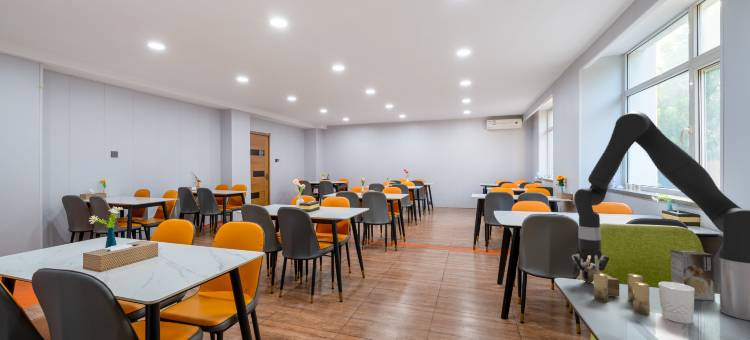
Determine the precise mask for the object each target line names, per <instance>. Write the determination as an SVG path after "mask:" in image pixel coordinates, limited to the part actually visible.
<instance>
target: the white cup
mask: <svg viewBox="0 0 750 340" xmlns="http://www.w3.org/2000/svg"><path fill="white" fill-rule="evenodd" d="M694 291H695V289H694V288H693V287H690V286H688V285H684V284H680V283H674V282H672V281H660V282H658V293H659V301H660V302H659V303H660V307H661V316H662V317H663V318H664V319H666V320H669V321H671V322H674V323H679V324H685V325H686V324H692V323H694V312H695V311H694V310H695V309H694V307H695V299H694Z"/></svg>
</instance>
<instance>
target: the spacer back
mask: <svg viewBox="0 0 750 340" xmlns="http://www.w3.org/2000/svg"><path fill="white" fill-rule="evenodd" d="M650 307H651V305H650V285H649V284H648V283H645V282H643V283H641V282H633V303H632V309H633V312H634V313H636V314H639V315H643V316H650V315H651V311H650V310H651V309H650ZM649 314H650V315H649Z"/></svg>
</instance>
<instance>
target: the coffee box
mask: <svg viewBox="0 0 750 340" xmlns="http://www.w3.org/2000/svg"><path fill="white" fill-rule="evenodd" d="M670 266H671V282H674V283H680V284H684V285H688V286H690V287H693V288H694V289H695V291H694V300H699V301H700V300H701V301H716V293H715V274H714V272H715V271H714V269H715V268H714V254H711V253H707V252H704V251H700V250H688V249H687V250H685V249H684V250H683V249H670Z"/></svg>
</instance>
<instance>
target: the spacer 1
mask: <svg viewBox="0 0 750 340" xmlns="http://www.w3.org/2000/svg"><path fill="white" fill-rule="evenodd" d="M603 273H604V272H602V273H594V280H593V300H594V301H596V302H599V303H608V302H609V296H608V276H609V275H608V274H607V273H604V274H603Z"/></svg>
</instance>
